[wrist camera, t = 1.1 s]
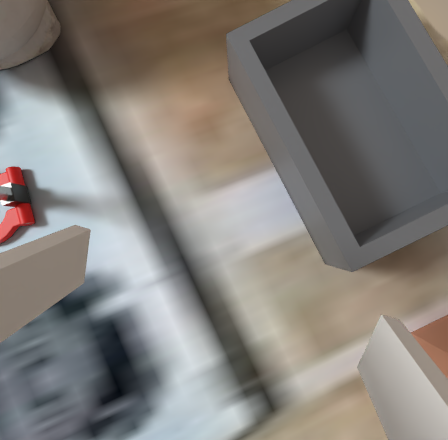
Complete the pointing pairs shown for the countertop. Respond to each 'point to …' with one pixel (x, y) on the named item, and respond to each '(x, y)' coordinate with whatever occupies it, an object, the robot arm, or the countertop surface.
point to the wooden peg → (435, 342)
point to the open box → (349, 120)
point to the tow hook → (14, 202)
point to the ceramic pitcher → (25, 30)
